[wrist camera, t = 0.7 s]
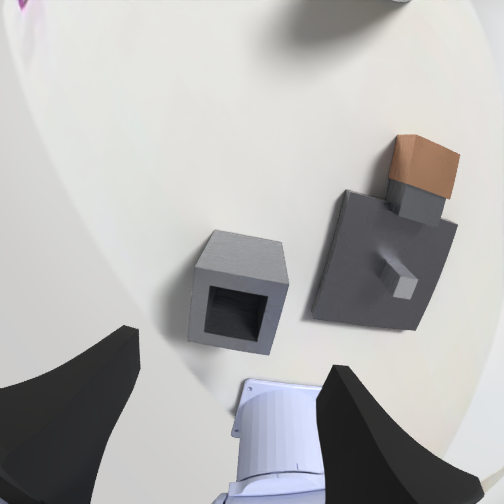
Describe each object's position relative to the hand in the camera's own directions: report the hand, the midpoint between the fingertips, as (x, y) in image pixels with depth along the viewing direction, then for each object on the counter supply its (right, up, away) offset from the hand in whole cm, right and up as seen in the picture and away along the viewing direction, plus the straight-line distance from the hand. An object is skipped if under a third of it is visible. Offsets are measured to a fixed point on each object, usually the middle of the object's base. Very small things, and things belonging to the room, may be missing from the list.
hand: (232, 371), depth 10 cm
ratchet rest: (+11, +5, +9) cm, 15 cm away
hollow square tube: (0, +3, +10) cm, 10 cm away
